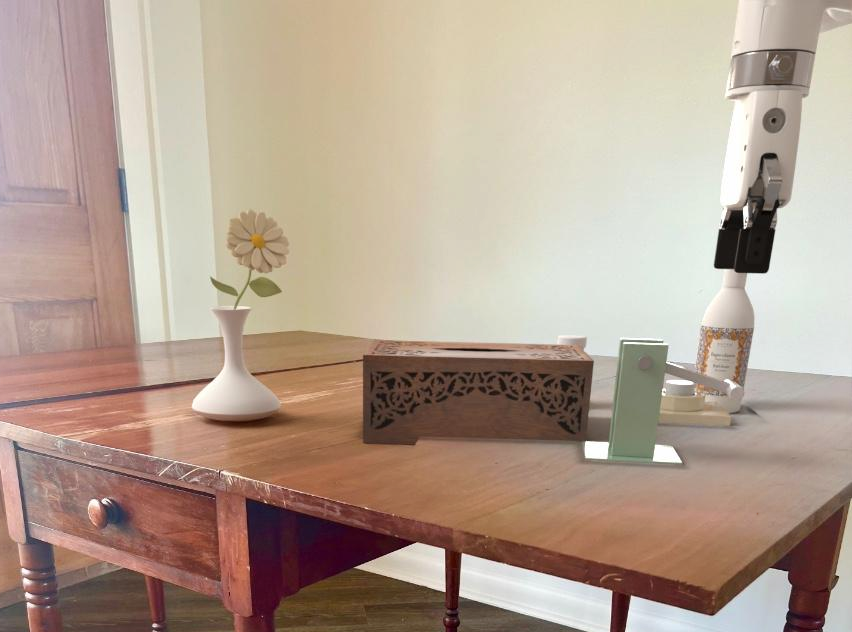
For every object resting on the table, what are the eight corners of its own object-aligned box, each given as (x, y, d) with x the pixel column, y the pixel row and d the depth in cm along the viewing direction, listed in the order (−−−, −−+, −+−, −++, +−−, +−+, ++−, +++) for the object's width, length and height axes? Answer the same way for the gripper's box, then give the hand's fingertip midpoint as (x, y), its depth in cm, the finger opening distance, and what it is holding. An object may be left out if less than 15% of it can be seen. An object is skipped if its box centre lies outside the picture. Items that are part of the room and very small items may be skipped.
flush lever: (729, 398, 93) (739, 377, 92) (738, 407, 89) (749, 384, 88) (622, 362, 93) (631, 340, 92) (626, 369, 89) (635, 346, 88)
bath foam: (687, 412, 122) (709, 260, 114) (690, 404, 128) (711, 258, 120) (739, 416, 120) (765, 261, 112) (740, 407, 126) (765, 260, 118)
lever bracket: (670, 455, 98) (687, 338, 93) (681, 474, 91) (699, 347, 86) (581, 451, 99) (592, 335, 94) (584, 468, 92) (597, 344, 87)
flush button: (690, 394, 115) (692, 380, 114) (694, 398, 111) (697, 385, 111) (662, 392, 115) (664, 379, 115) (666, 397, 112) (668, 383, 111)
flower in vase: (192, 429, 106) (174, 206, 97) (193, 411, 117) (177, 208, 107) (298, 426, 109) (291, 209, 99) (290, 409, 119) (283, 210, 109)
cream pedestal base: (714, 418, 119) (719, 388, 117) (729, 433, 109) (734, 401, 108) (625, 414, 120) (628, 384, 119) (632, 428, 111) (635, 397, 109)
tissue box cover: (363, 443, 101) (362, 355, 97) (374, 418, 114) (374, 340, 111) (584, 449, 100) (593, 360, 96) (570, 424, 113) (577, 344, 109)
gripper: (840, 64, 75) (801, 275, 81) (784, 92, 90) (756, 268, 97) (750, 64, 75) (719, 274, 82) (710, 93, 91) (687, 267, 98)
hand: (739, 270), depth 90 cm, fingers open, 9 cm apart
